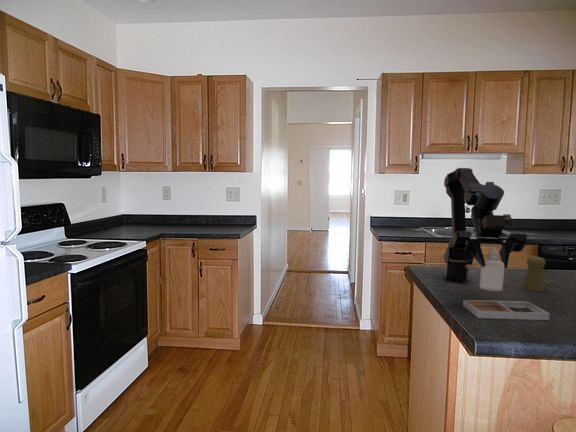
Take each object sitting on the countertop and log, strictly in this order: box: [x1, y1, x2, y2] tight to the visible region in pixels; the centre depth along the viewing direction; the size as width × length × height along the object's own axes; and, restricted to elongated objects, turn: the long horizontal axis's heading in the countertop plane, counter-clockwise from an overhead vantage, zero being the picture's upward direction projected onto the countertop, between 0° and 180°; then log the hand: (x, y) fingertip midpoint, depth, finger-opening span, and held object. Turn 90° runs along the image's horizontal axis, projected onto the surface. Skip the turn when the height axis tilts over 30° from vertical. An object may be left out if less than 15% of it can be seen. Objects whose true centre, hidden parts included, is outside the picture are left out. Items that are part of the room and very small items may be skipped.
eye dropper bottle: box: [479, 245, 505, 292], centre depth 107 cm, size 4×6×12 cm
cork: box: [523, 255, 546, 292], centre depth 131 cm, size 6×6×11 cm
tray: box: [462, 299, 551, 321], centre depth 108 cm, size 19×10×2 cm, turn 88°
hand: (494, 266), depth 106 cm, fingers closed on eye dropper bottle, 5 cm apart
